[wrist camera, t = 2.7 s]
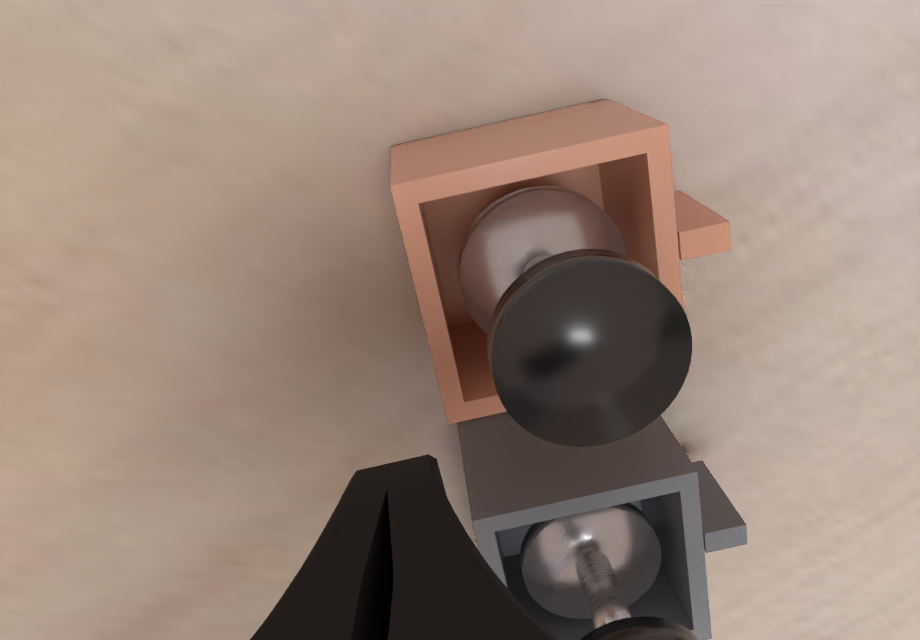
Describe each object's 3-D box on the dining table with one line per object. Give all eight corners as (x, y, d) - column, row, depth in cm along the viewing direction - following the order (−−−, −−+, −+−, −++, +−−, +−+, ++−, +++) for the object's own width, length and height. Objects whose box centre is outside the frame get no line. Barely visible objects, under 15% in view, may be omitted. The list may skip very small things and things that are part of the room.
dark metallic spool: (628, 322, 18) (710, 430, 14) (475, 356, 18) (502, 475, 14) (609, 168, 17) (694, 230, 12) (442, 205, 17) (460, 281, 12)
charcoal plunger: (660, 587, 22) (733, 746, 17) (531, 615, 22) (569, 782, 17) (647, 481, 20) (724, 623, 16) (508, 511, 20) (543, 663, 16)
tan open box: (674, 287, 22) (747, 358, 18) (437, 339, 22) (448, 424, 18) (656, 87, 20) (735, 109, 15) (391, 146, 20) (389, 185, 15)
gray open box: (695, 518, 26) (760, 627, 21) (490, 563, 26) (511, 682, 21) (682, 372, 23) (752, 459, 19) (457, 421, 23) (471, 521, 19)
